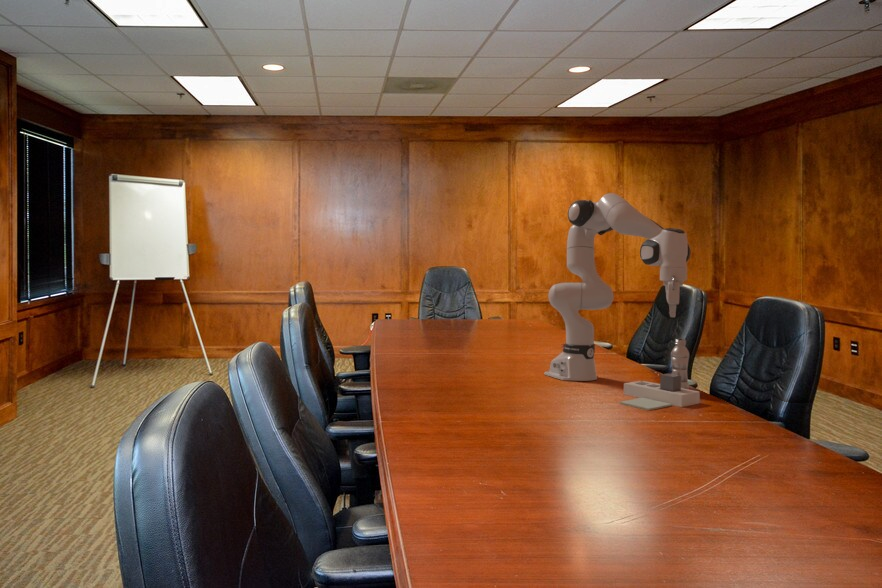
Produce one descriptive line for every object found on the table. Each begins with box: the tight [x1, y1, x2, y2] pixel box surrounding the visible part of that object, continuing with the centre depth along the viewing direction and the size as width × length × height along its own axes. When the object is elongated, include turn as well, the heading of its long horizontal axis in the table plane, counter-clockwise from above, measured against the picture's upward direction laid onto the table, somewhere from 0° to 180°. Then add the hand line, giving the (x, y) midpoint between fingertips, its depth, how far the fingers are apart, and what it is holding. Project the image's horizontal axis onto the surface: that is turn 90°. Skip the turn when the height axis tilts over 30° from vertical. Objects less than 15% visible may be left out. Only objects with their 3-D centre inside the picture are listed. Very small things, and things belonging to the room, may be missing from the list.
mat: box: [619, 397, 673, 411], centre depth 222 cm, size 12×12×1 cm
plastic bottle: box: [670, 338, 690, 390], centre depth 239 cm, size 6×7×20 cm
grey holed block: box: [623, 380, 701, 408], centre depth 232 cm, size 24×10×4 cm, turn 35°
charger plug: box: [659, 373, 681, 392], centre depth 228 cm, size 5×4×9 cm
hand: (672, 316), depth 227 cm, fingers open, 8 cm apart
